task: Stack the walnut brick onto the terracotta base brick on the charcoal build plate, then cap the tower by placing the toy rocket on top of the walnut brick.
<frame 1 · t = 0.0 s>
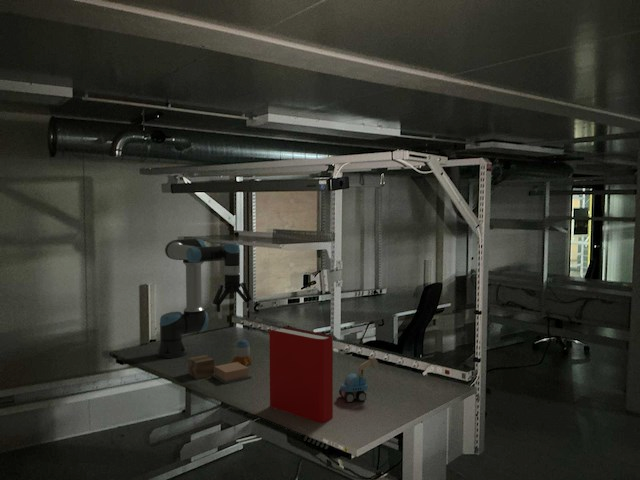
hand: (232, 316, 251), 28 cm above the table, fingers open, 13 cm apart
toy rocket: (241, 366, 262), on the table
walnut brick: (201, 374, 249), on the table
toy excavator: (359, 398, 217), on the table
book: (301, 412, 202), on the table
build base: (231, 377, 245), on the table
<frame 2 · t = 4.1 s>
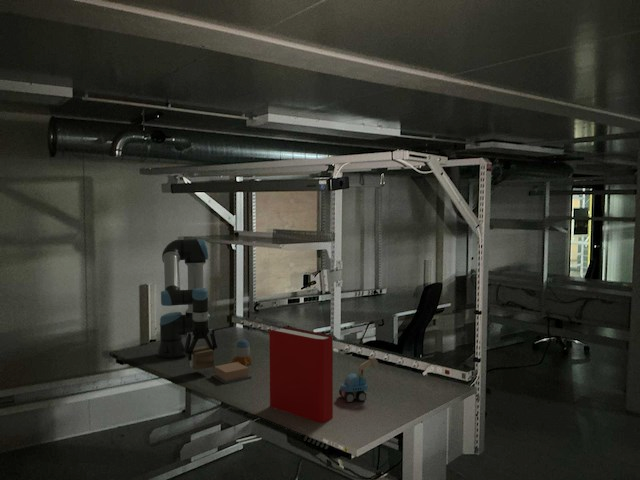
hand: (201, 364, 250), 5 cm above the table, fingers closed on walnut brick, 9 cm apart
walnut brick: (200, 365, 250), point 4 cm above the table, touching gripper
everything else where it was.
when the fingers open (6 cm above the table, at t = 9.0 s): walnut brick stays where it is, resting on build base.
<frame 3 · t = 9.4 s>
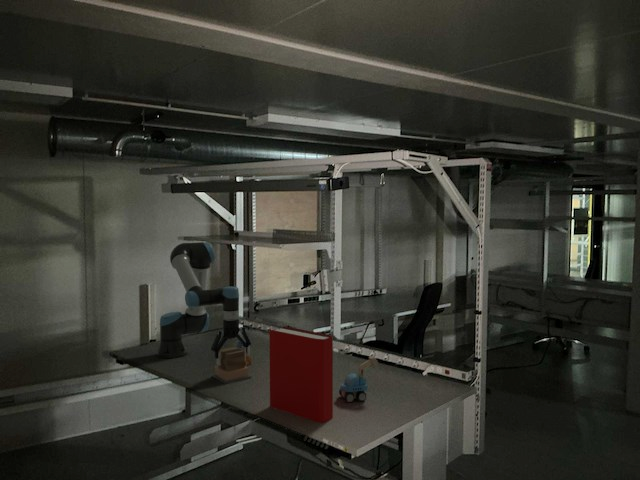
hand: (231, 362, 244), 7 cm above the table, fingers open, 13 cm apart
walnut brick: (231, 366, 245), point 5 cm above the table, touching build base
everything else where it was.
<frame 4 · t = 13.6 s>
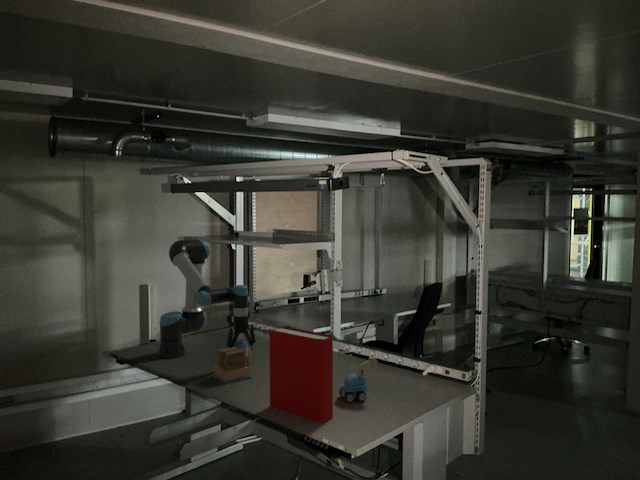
hand: (241, 358, 262), 4 cm above the table, fingers closed on toy rocket, 8 cm apart
toy rocket: (239, 367, 262), on the table, touching gripper
everything else where it was.
when the fingers open (18 cm above the table, at t = 19.4 s): toy rocket drops 1 cm, resting on walnut brick.
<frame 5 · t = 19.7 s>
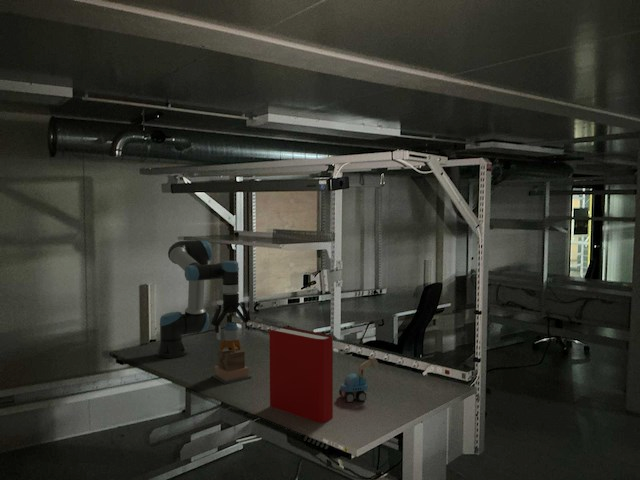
hand: (231, 337, 244), 20 cm above the table, fingers open, 12 cm apart
toy rocket: (229, 351, 243), point 13 cm above the table, touching walnut brick
walnut brick: (231, 367, 245), point 5 cm above the table, touching build base, toy rocket
everything else where it was.
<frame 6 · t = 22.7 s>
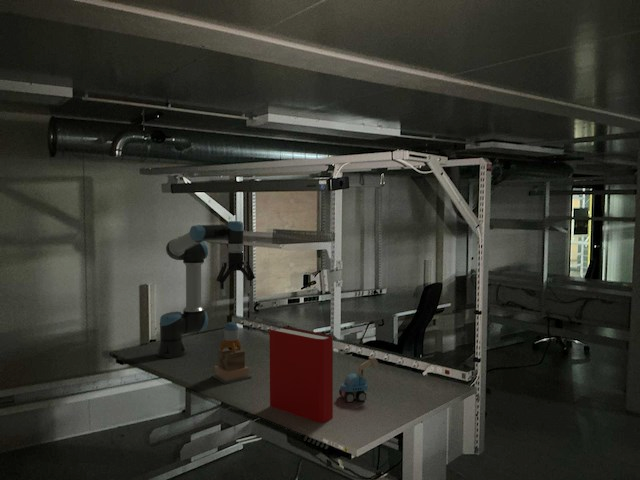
hand: (236, 294, 253), 39 cm above the table, fingers open, 13 cm apart
nothing on the table moved.
at the end: walnut brick 0.1 cm off-centre on the build base, point 5.0 cm above the build base's base; toy rocket 1.0 cm from the build base (horizontally); toy rocket point 12.8 cm above the table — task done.
